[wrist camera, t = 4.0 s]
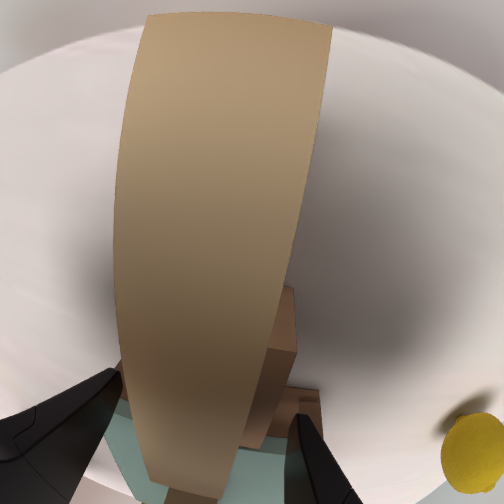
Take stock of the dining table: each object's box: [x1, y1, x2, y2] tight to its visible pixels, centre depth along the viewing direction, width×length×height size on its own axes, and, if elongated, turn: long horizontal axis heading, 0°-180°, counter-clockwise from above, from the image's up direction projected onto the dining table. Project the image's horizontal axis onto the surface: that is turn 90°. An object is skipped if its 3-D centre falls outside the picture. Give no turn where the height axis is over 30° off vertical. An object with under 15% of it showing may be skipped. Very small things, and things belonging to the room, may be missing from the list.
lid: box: [104, 398, 288, 504], centre depth 12 cm, size 16×11×5 cm
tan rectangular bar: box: [113, 12, 333, 499], centre depth 6 cm, size 12×2×3 cm, turn 170°
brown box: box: [114, 286, 323, 449], centre depth 14 cm, size 22×11×4 cm, turn 170°
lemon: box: [441, 413, 504, 494], centre depth 11 cm, size 6×6×8 cm
